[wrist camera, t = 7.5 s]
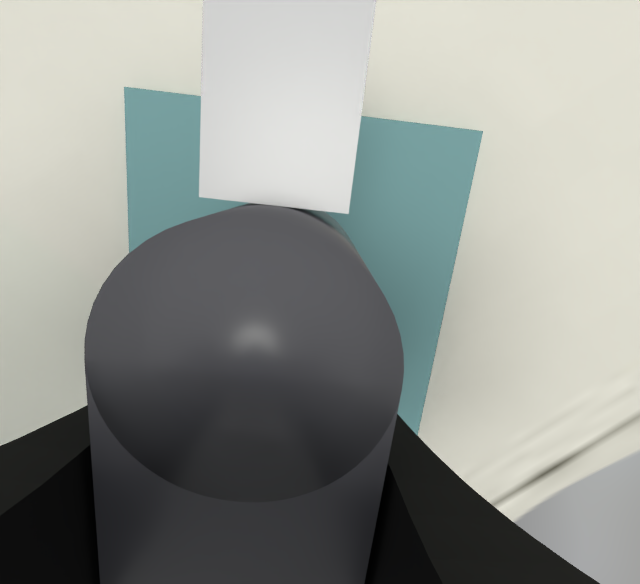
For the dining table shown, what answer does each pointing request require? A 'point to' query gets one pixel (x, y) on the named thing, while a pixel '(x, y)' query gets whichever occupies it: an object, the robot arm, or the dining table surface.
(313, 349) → the cylinder
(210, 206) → the charging mat
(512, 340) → the dining table surface
